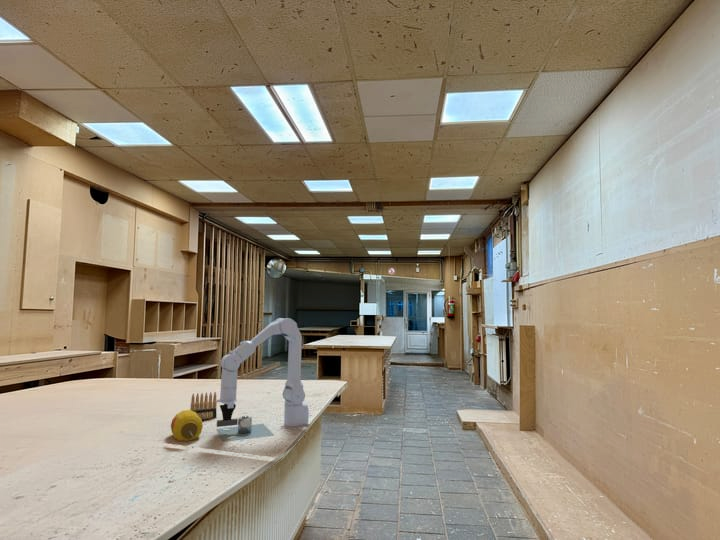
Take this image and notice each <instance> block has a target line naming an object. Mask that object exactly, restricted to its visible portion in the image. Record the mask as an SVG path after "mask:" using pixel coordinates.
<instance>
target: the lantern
mask: <svg viewBox="0 0 720 540" xmlns="http://www.w3.org/2000/svg"><path fill="white" fill-rule="evenodd" d="M170 429H171V433H172V436H173V437H174V438H175V440H177V442H188V441H189V442H190V441H193V440H196V439H197V438H199V436H200V435H201V433H202V432H203V431H202V430H203V422H202V420H201V418H200V417H199V416H198V415H197V414H196V412H194V411H191V410H190V409H186V410H182V411H180V412H178V413H177V414H175V415H174V417H173V419H172V420H171V424H170Z"/></svg>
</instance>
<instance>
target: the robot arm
mask: <svg viewBox="0 0 720 540" xmlns="http://www.w3.org/2000/svg"><path fill="white" fill-rule="evenodd" d="M274 335H276V336H277V335H281V336H283V337H284V338H285V339H286V340H287V341H288V351H287V352H288V355H287V356H288V357H287V380H286V381H285V383H284V389H283V390H282V397H283V399H284V401H285V402H284V415H283V417H284V418H283V425H284V426H287V427H297V426H302V425H309V414H310V413H309V412H310V411H309V405H308V403H306V402H304V401H305V399H306V394H305V393H306V392H305V390H304V384H303V382H302V379H301V378H302V377H301V374H302V372H301V371H302V347H303V346H302V345H303V344H302V343H303V338H302V334H301V331H300V330H299V327H298V323H297V322H296V321H295V320H294V319H292V318H290V317H287V318H285V317H284V318H282V317H278V318H276V319H274V321H272V322H270V323H269V324H268V325H267V326H266V327H264V328H263V329H262V330H261V331H260V332H259V333H258V334H256V335H255V336H253V338H251V340H244V341H240V342H239V345H238V346H237V347H236V348H234V349H232V350H229V353H228V354H225V355H223V357H222V358H221V361H220V362H219V364H220V365H219V366H220V367H221V368H222V369H221V377H220V378H221V380H220V395H219V396H220V397H219V398H216V401H217V403H221V404H220V405H219V407H220V411H221V415H222V420H226V419H232V417H233V414H234V410H235V409H236V407H237V405H236V402H237V388H238V384H237V383H238V369H239V368H240V366H241V364H242V363H243V362H245V361H246V360H247V359H248V358H249V357H250V356H252V355H253V354H254V353H255V352H256V348H257V347H258V346H260V344H262V343H263V342H265V341H266V340H267V339H269V338H271V336H274Z"/></svg>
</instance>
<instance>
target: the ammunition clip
mask: <svg viewBox="0 0 720 540" xmlns="http://www.w3.org/2000/svg"><path fill="white" fill-rule="evenodd" d="M199 394H200V395H199ZM208 396H209V397H208ZM217 403H218V402H217V392H216V391H214V393H212V391H210V393H209V395H208V392H207V391H206V392H205V395H204V394H203V392H201V393H199V392H198V393H196V396H195V394H194V393H192V395H191V400H190V409H189V410H191V411H194V412H196V414H197V415H198V416H199V417H200V418H201V420H202V423H204V422H206V421H209V420H212V419H217Z"/></svg>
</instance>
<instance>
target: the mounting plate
mask: <svg viewBox="0 0 720 540" xmlns="http://www.w3.org/2000/svg"><path fill="white" fill-rule="evenodd" d="M216 431H217V433H218V435H219V437H220V439H221V441H222V443H225V442H233V441H241V440H250V439H256V438H257V439H258V438H265V437H273V436H275V434H274V433H273V432H272V431H271V430H270V429H269V428H268V427H267V426H266V425H265V424H264V423H257V424H252V431H251V432H248V433H239V432H238V426H230V427H229V426H228V427H219V428H216Z"/></svg>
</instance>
